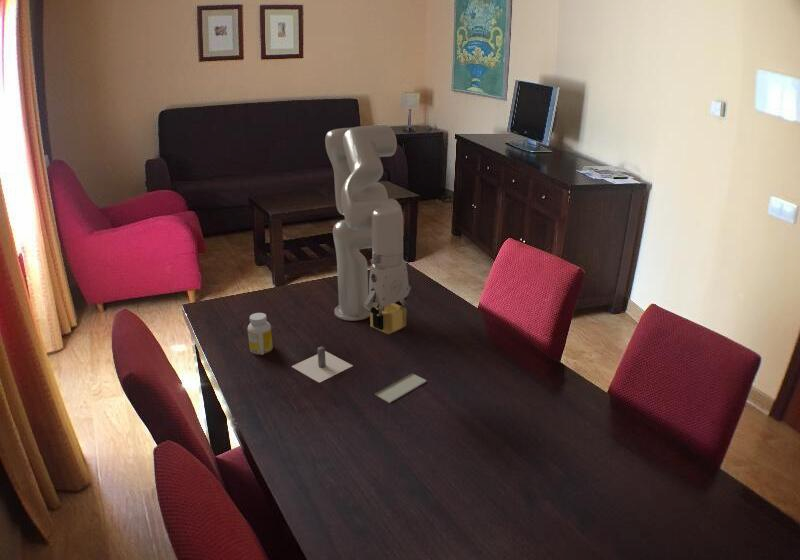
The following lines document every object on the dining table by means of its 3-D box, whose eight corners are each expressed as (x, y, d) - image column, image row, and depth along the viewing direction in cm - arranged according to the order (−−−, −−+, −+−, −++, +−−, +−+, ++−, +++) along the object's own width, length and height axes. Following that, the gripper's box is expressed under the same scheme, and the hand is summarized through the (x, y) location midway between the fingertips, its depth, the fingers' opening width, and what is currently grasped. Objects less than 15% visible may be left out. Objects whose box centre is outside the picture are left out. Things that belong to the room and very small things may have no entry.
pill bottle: (275, 347, 188) (272, 311, 184) (269, 358, 182) (266, 321, 178) (254, 346, 189) (250, 310, 184) (247, 357, 183) (243, 320, 178)
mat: (389, 363, 180) (389, 361, 180) (426, 381, 171) (426, 380, 171) (351, 382, 170) (351, 381, 170) (389, 403, 161) (389, 401, 161)
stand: (325, 353, 185) (323, 333, 182) (353, 368, 177) (352, 348, 174) (291, 369, 177) (289, 348, 174) (319, 385, 169) (318, 364, 166)
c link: (406, 325, 164) (406, 308, 162) (388, 334, 160) (388, 316, 158) (388, 317, 168) (388, 300, 166) (370, 326, 164) (369, 308, 162)
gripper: (372, 271, 149) (374, 340, 156) (422, 252, 160) (422, 317, 167) (351, 263, 153) (353, 330, 160) (401, 245, 165) (401, 308, 172)
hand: (388, 322), depth 164 cm, fingers closed on c link, 6 cm apart
